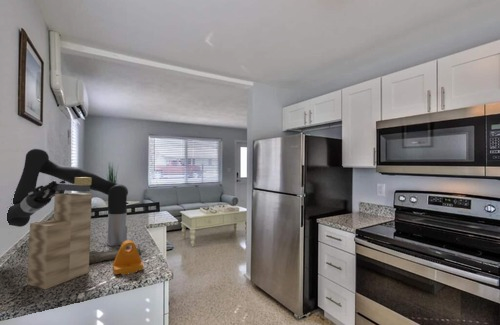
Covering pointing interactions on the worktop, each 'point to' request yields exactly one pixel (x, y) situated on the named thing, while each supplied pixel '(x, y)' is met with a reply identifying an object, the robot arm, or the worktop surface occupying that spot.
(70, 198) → the block
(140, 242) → the worktop surface
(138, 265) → the bracket
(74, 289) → the worktop surface
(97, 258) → the long grey stone
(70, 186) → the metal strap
